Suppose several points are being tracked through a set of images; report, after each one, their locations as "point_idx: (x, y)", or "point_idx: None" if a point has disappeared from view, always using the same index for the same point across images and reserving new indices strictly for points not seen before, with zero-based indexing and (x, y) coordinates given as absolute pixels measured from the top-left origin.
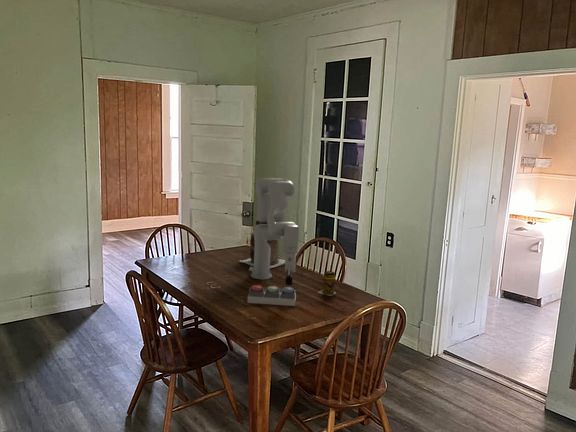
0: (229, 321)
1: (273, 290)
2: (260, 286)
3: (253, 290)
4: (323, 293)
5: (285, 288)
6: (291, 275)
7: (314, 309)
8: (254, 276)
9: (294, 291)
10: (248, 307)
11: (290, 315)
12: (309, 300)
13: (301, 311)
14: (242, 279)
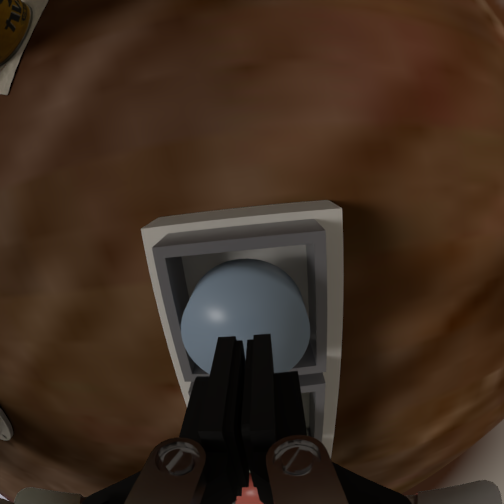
0: (497, 423)
1: (307, 434)
2: (256, 496)
3: None
4: (12, 55)
5: None
6: (340, 487)
7: (360, 44)
8: (8, 435)
9: (218, 250)
10: (383, 437)
11: (489, 218)
12: (157, 97)
13: (426, 144)
14: (48, 463)
